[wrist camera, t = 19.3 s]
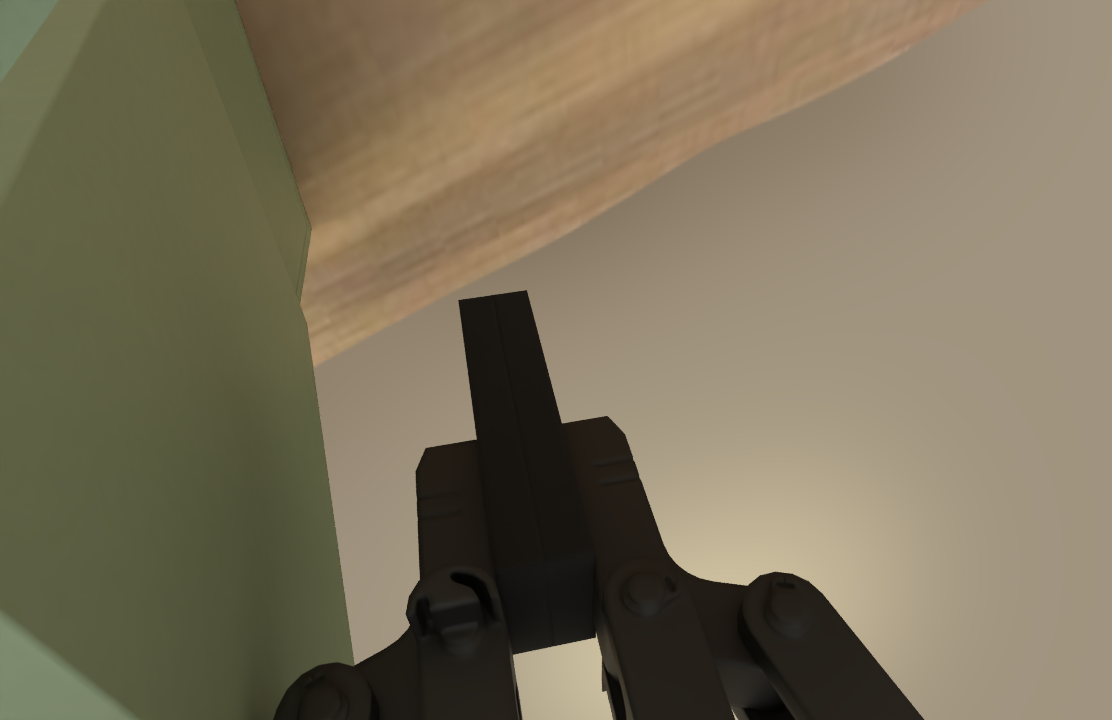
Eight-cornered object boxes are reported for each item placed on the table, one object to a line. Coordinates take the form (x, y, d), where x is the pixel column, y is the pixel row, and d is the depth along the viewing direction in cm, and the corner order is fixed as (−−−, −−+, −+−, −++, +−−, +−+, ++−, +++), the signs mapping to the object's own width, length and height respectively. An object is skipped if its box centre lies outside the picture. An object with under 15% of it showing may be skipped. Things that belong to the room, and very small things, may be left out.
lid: (349, 935, 13) (390, 916, 13) (-333, 542, 3) (-152, 495, 4) (287, 328, 27) (307, 323, 27) (117, -85, 17) (150, -88, 18)
